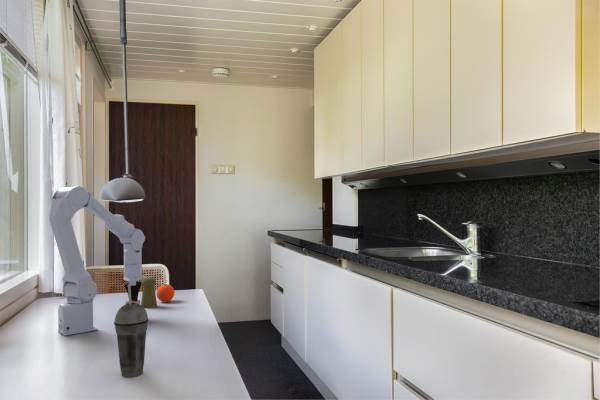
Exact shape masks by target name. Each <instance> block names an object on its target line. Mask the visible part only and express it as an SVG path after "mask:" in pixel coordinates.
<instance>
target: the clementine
mask: <svg viewBox="0 0 600 400" xmlns="http://www.w3.org/2000/svg"><path fill="white" fill-rule="evenodd" d="M174 296H175V289H174V287H173V286H172V285H170V284H168V283H167V284H166V283H165V284H162V285H160V286H159V287H158V288H157V290H156V298H157V299H158V300H159V301H160V302H162V303H166V302H170V301H172V299H173V298H174Z"/></svg>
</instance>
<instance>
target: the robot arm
mask: <svg viewBox="0 0 600 400" xmlns="http://www.w3.org/2000/svg"><path fill="white" fill-rule="evenodd" d="M50 199H51V200H50V201H51V206H50V211H49V215H48V217H49V223H50V227H51V229H52V233H53V236H54V239H55V244H56V246H57V250H58V253H59V256H60V260H61V263H62V267H63V270H64V275H63V276H62V279H61V280H62V293H63V296H64V298H66V302H65V303H60V304H59V305H58V310H57V318H58V319H57V320H58V321H57V322H58V326H57V327H58V329H57V332H58V333H60V334H61V335H62V336H70V335H77V334H83V333H88V332H93V331H98V329H99V328H98V327H97V326H94V298H95V297H96V295H97V294H98V290H99V289H98V285H97V283H96V282H95V281H94V280H93V279H92V276H91V274H90V272H88V271H87V270H86V269H85V266H84V262H83V257H82V255H81V254H82V253H81V251H80V248H79V244H78V241H77V238H76V235H75V230H74V227H73V223H72V218H73V217H74V216H75V215H76V213H77V212H78V211H79V210H82V209H85V210H87V211H89V212H90V213H92V215H94V216H96V217H97V218H99V219H100V220H101V221H103V222H105V228H106V229H107V230H109V231H110V232H111V233H113V234H114V235H115V236H116V237H117V238H118V239H119V242H120V243H121V244H123V278H122V279H123V281H126V283H123V287H124V288H125V290H126V293H127V297H128V298H129V293H128V284H130V287H131V301H133V300H139V293H140V290H141V287H142V279H144V278H146V275H143V271H142V270H143V264H142V263H143V262H142V257H143V256H142V253H143V252H142V249H143V244H144V242H145V241H146V236H145V235H144V232H143V231H142V230H141V229H139V228H135V225H134V224H133V223H130V222H128V221H127V220H126V219H125V216H124V215H123V214H118V213H117V214H116V213H115V214H113V213H112V212H111V211H110V210H109V209H107V207H105V206H104V205H103V204H102V203H101V202H100V201H99V200H98V199H96V198H95V195H93V193H92V192H90V191H89V190H87V189H86V188H85V187H84V186H81V185H77V186H71V187H65V186H64V187H59V188H57V189H56V190H55V192H54V193H53V194H52V196H51V197H50Z"/></svg>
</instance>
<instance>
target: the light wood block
mask: <svg viewBox="0 0 600 400" xmlns="http://www.w3.org/2000/svg"><path fill="white" fill-rule="evenodd" d="M128 303H129V300H125V304H128ZM131 303H137V304H140V305H141V299H138V300H133V301H131Z"/></svg>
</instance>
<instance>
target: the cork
mask: <svg viewBox="0 0 600 400" xmlns="http://www.w3.org/2000/svg"><path fill="white" fill-rule="evenodd" d="M141 282H142V285H141V287H142V293H141V299H140V305H141V306H142V307H143V308H144V309H151V308H152V309H153V308H157V307H158V303H157V294H156V291H155V290H156V289H155V286H156V284H157V283H156V279H155V277H149V276H148V277H145V278H143V279H141Z"/></svg>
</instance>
